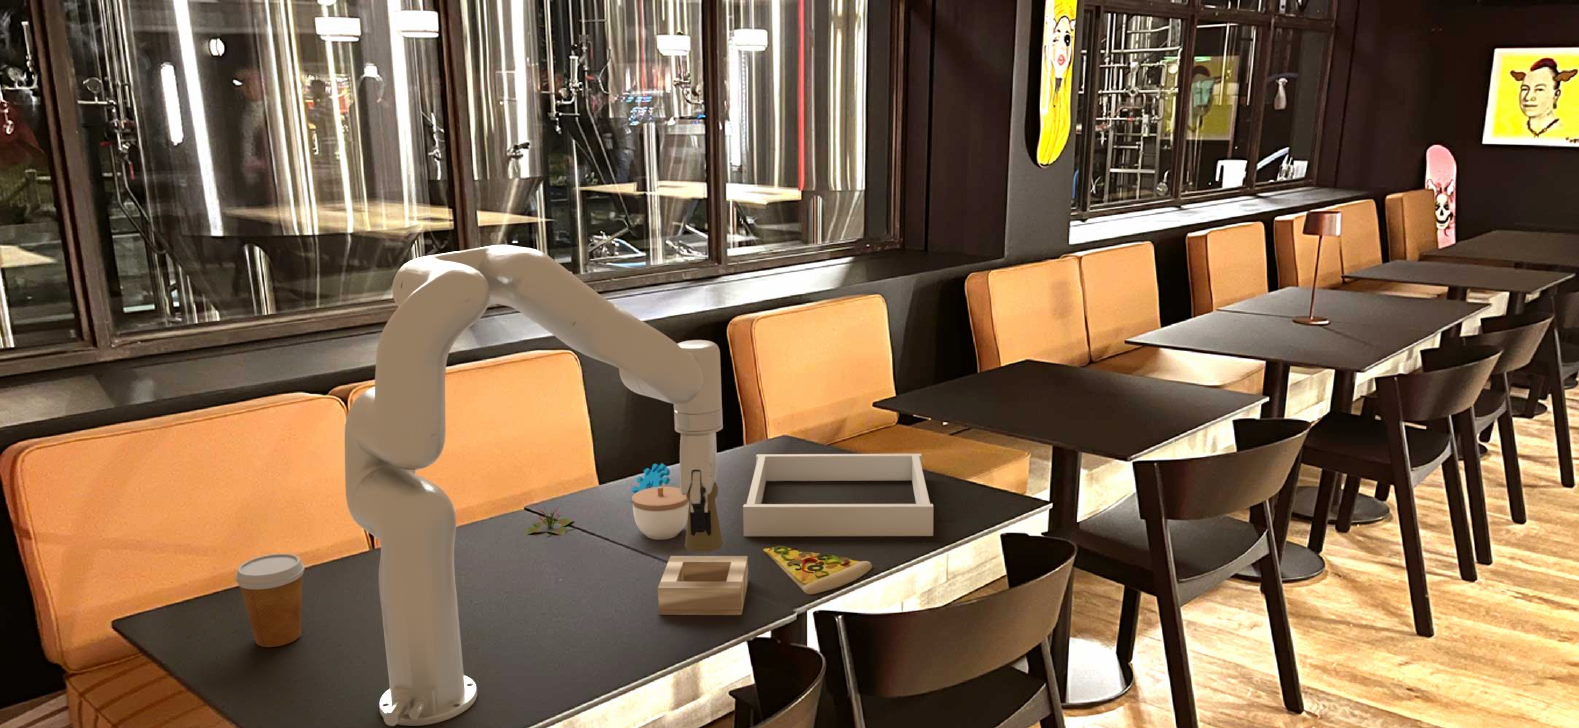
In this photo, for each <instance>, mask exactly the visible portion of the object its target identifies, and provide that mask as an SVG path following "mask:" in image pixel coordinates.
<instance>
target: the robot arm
mask: <svg viewBox="0 0 1579 728" xmlns="http://www.w3.org/2000/svg"><path fill="white" fill-rule="evenodd" d="M391 291H392V292H391V293H392V297H393V300H394V302H395V304H396V306H397V307H398V308H396V310H395V311H393V312H394V313H392V315H391V316H390V318H389V320H388V321H387V322H386V324H385V325H384V328H383V329H382V332H381V334H380V336H379V340H378V343H377V347H376V355H375V374H374V376H375V377H374V387H373V386H372V387H371V388H368V389H367V390H364V391H363V392H362V393H361V394H359V395H358V397H357V398H355V400H353V402H352V404H351V406H350V408H349V410H348V413H347V416H346V420H345V425H344V475H345V476H344V477H345V479H344V481H345V485H344V486H345V498H346V503H347V504H346V505H347V508H348V512H349V514H350V516H351V518H352V520H353V521H354V522H355V523H356V524H357V525H358V526H359V527H360V528H362V529H363V530H365V531H366V532H367V533H369V535H372V536H373V537H374V538H376V540H378V542H379V545H380V560H379V565H378V566H379V567H378V588H379V589H378V590H379V592H378V593H379V599H380V606H381V607H380V608H381V609H380V610H381V617H382V626H383V637H384V645H385V647H384V648H385V654H386V664H387V674H388V684H389V689H388V690H386V691H385V692H384V693H383V694H382V696H381V697H380V699H379V701H378V708H379V713H380V715H381V717H382V718H383V722H384V723H385V724H386V725H387V726H390V727H394V726H396V725H400V726H405V727H406V726H407V727H412V726H413V727H418V726H420V727H421V726H428V725H433V724H438V723H441V722H444V721H448V720H450V719H453V718H455V717H457V716H459V715H461V714H463V712H465V711H467V710H468V709H469V708H471V706H472V705H474V703H475V701H476V699H477V697H478V686H477V684H476V682H475V681H474V680H473V679H472V678H470V677H468V676H467V675H465V674H464V666H463V664H464V663H463V655H462V653H463V651H462V641H461V629H460V628H461V627H460V619H459V607H458V596H457V595H458V594H457V586H456V584H457V583H456V577H455V576H456V573H455V543H456V542H455V541H456V531H457V530H456V529H457V516H456V511H455V508H454V507H455V506H454V505H453V502H452V501H451V499H450V497H449V496H448V494H446V492H445V491H444V490H443V489H442V488H441V487H439V486H438V485H436V484H435V483H434V482H433V481H430V480H429V479H426V478H425V477H423V476H421V475H418V474H417V473H416V471H417V470H418V471H419V470H422V469H426V468H429V467H430V466H431V465H433V464H434V463H435V462H436V461H437V460H438V459H439V458H440V456H441V455H442V452H443V450H444V448H445V443H446V430H447V429H446V372H447V371H446V370H447V361H448V357H449V354H450V351H451V349H452V347H453V346H454V344H455V342H456V341H457V340H458V338H459V337H460V336H461V335H462V334H463V333H464V332H465V331H467V330H468V329H469V328H470V327H472V326H473V325H474V324H476V323H477V322H478V321H479V320H480V319H481V318H482V316H483V315H484V313H485V312H486V311H487V309H488V307H489V306H493V305H494V306H495V305H501V306H505V307H510V308H511V309H512V308H513V309H514V310H517V311H518V312H519V313H521V314H522V315H524V316H525V317H527V318H528V319H529V320H531V321H532V322H533V323H536V324H537V325H538V326H540V327H541V328H542V329H544V330H546V331H547V332H548V333H550V334H551V335H553V336H554V337H555V338H556V339H558V340H559V341H561V342H562V343H564V344H565V345H566V346H568V347H570V348H571V349H573V350H575V351H576V352H579V353H581V354H582V355H585V356H586V357H589V358H592V359H593V360H597V361H600V362H603V363H605V364H608V365H611V366H613V367H615V368H618V370H619V371H618V372H619V373H618V374H619V376H620V379H621V382H622V383H623V385H624V386H625V387H626V388H628V389H629V390H630V391H631V392H633V393H635V394H638V395H641V396H645V397H649V398H652V399H656V400H660V401H662V402H664V403H665V402H666V403H669V404H673V415H674V416H673V418H674V431H675V432H676V433H679V434H680V440H679V442H680V443H679V488H680V493H681V494H682V495H685V494H687V493H688V490H689V488H690V509H691V511H690V524H691V535H693V536H695V533H696V532H699V533H701V532H704V531H705V530H706V532H707V535H708V536H709V535H711V511H709V502H708V494H710V493H711V492H712V489H713V485H714V482H715V483H716V480H717V467H718V459H717V458H718V454H717V447H718V446H717V432H719V431H721V430H722V429H723V428H724V425H723V405H722V404H723V403H722V402H723V401H722V398H723V397H722V375H721V374H722V373H721V372H722V371H721V370H722V367H721V351H720V350H721V349H720V348H719V346H718V344H717V343H715V342H713V341H711V340H705V339H704V340H703V339H692V340H685V341H681V342H678V343H677V342H676V341H674V340H673V339H671V338H670V337H668V336H667V335H666V334H664V333H663V332H661V331H659V330H658V329H656V328H655V327H653V326H651V325H650V324H648V323H646V322H645V321H643V320H641V319H640V318H638V317H636V316H635V315H633V314H631V313H630V312H628V311H626V310H625V309H624V308H621V307H620V306H617V305H616V304H614V303H613V302H611V301H609V300H608V299H606V298H605V297H604V296H602V295H601V294H599V293H598V292H597V291H596V290H594V289H593V288H592V287H590V286H589V285H588V284H587V283H585V282H584V281H582V280H581V279H580V278H578V277H577V276H576V275H575V274H573V273H572V272H571V271H569V270H568V269H567V268H566V267H564V266H563V265H562V264H560V263H559V262H557V260H555V259H554V258H552V257H551V256H549V255H548V254H546V253H545V252H543V251H540V250H538V249H536V248H531V247H524V246H517V245H510V244H495V245H488V246H483V247H477V248H471V249H469V248H468V249H464V250H459V251H451V252H445V253H438V254H432V255H424V256H420V257H417V258H413V259H411V260H408V262H406V263H404V264H403V265H402V266H401V267H400V268H399V269H398V270H397V272H396V273H395V276H394V278H393V281H392V285H391ZM701 489H705V492H704V493H701ZM701 497H704V500H703V499H701Z"/></svg>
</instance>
